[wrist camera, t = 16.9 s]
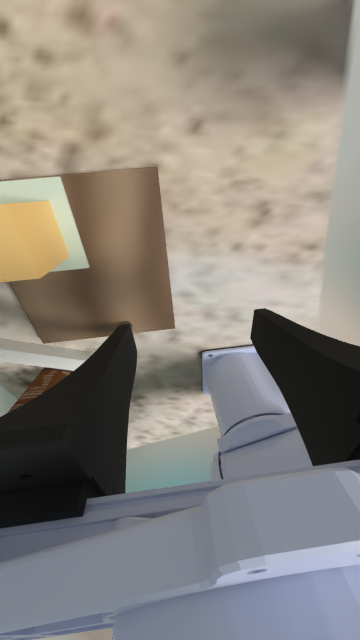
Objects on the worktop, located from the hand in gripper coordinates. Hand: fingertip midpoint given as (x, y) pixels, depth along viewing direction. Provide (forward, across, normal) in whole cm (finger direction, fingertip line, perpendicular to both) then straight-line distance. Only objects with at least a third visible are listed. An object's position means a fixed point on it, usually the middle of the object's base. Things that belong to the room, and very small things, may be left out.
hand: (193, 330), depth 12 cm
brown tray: (+9, +8, -2) cm, 12 cm away
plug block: (+8, +11, -5) cm, 15 cm away
